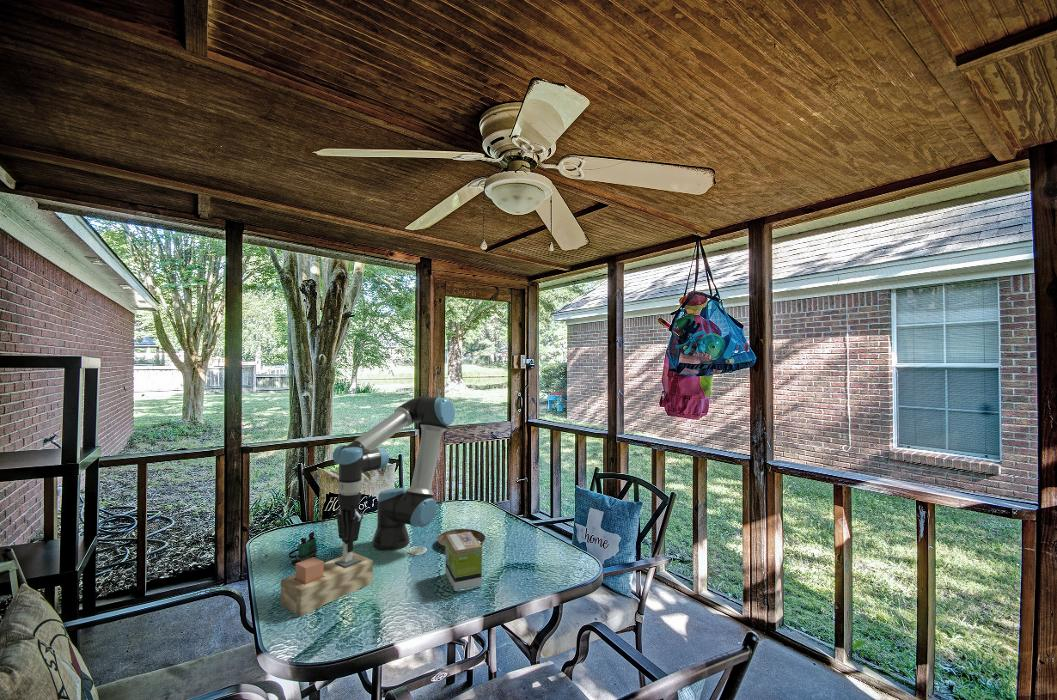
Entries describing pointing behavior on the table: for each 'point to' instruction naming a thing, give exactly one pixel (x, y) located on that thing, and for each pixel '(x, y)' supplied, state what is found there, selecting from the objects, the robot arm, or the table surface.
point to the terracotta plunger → (309, 570)
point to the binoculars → (305, 549)
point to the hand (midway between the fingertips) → (347, 560)
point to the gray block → (347, 564)
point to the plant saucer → (476, 534)
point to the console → (325, 585)
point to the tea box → (463, 561)
